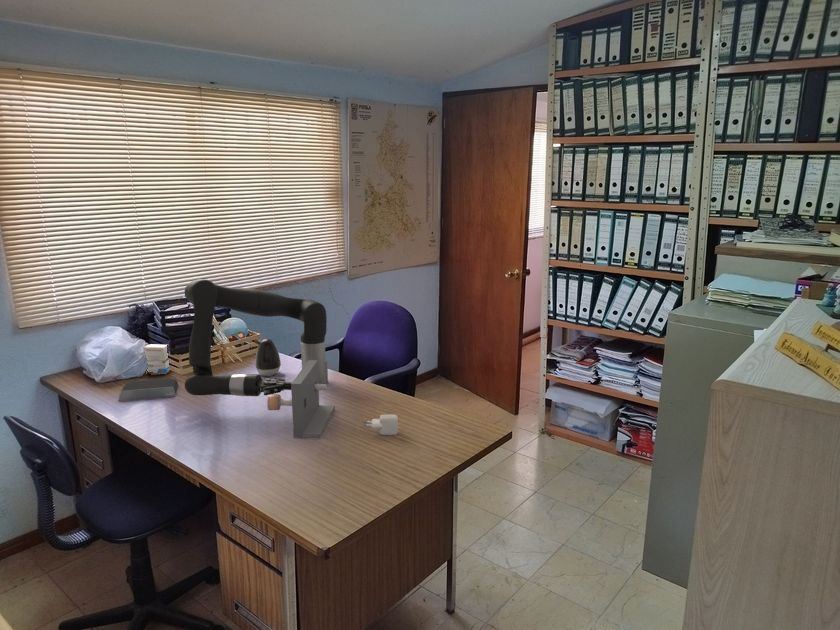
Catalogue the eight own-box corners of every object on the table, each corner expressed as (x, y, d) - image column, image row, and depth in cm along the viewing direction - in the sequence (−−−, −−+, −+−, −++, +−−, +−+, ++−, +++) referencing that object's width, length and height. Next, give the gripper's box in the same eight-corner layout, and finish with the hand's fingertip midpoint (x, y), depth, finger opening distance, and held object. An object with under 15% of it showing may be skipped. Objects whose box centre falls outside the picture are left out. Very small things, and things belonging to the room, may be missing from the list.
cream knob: (294, 395, 204) (293, 381, 202) (297, 390, 208) (297, 376, 207) (324, 396, 203) (324, 382, 202) (327, 391, 208) (327, 377, 207)
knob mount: (293, 438, 189) (291, 383, 184) (310, 408, 212) (308, 360, 208) (320, 438, 188) (318, 384, 184) (334, 409, 211) (333, 360, 207)
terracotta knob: (267, 412, 189) (266, 397, 188) (272, 406, 194) (271, 391, 193) (300, 413, 189) (299, 398, 187) (304, 407, 194) (303, 392, 192)
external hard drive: (175, 398, 223) (174, 387, 222) (118, 403, 217) (117, 392, 216) (179, 386, 235) (178, 376, 234) (125, 390, 230) (124, 380, 229)
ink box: (172, 371, 251) (169, 344, 248) (165, 375, 246) (163, 347, 243) (152, 370, 252) (149, 343, 249) (146, 374, 247) (143, 346, 244)
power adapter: (362, 436, 190) (362, 419, 189) (363, 430, 195) (363, 413, 193) (398, 436, 190) (397, 419, 189) (398, 430, 195) (397, 413, 194)
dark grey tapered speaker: (260, 369, 253) (258, 335, 250) (284, 370, 252) (282, 335, 249) (251, 377, 244) (249, 341, 240) (276, 378, 243) (274, 342, 239)
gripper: (238, 381, 199) (290, 382, 198) (251, 368, 212) (300, 369, 211) (239, 402, 201) (291, 403, 200) (252, 388, 213) (300, 389, 213)
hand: (295, 386), depth 205 cm, fingers closed
